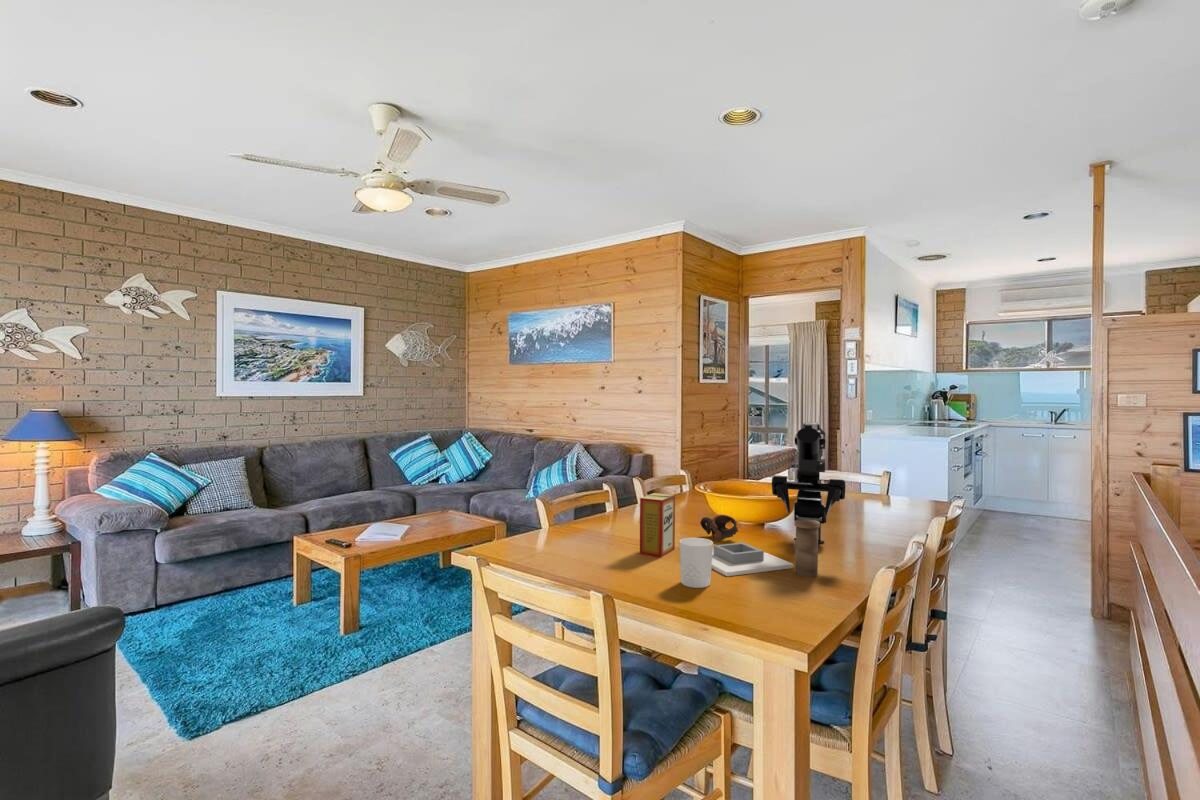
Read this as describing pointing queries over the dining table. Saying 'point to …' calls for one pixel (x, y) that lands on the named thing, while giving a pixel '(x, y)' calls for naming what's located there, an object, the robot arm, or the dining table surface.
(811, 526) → the brown cylinder
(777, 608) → the dining table surface
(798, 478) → the robot arm
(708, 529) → the pottery mug
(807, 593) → the dining table surface
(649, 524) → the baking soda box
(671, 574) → the dining table surface
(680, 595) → the dining table surface
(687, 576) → the white cup
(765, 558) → the square socket base
